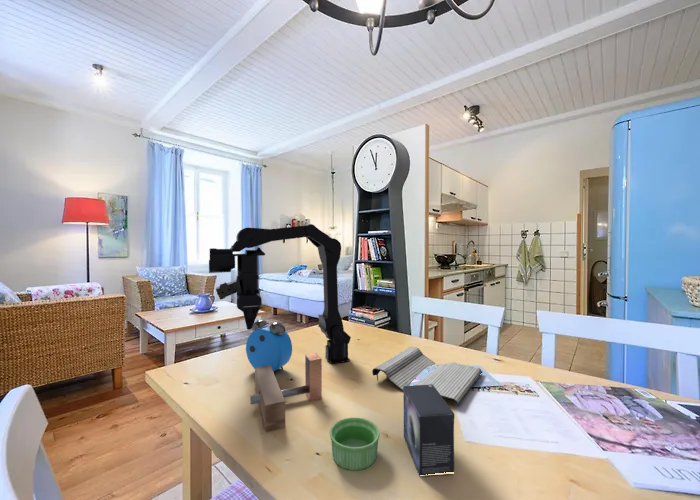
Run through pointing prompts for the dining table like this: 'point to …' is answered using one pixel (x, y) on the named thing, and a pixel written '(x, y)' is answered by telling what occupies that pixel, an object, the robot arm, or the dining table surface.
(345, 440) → the ramekin
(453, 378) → the mat
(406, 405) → the small box
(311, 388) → the pin
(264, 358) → the alarm clock
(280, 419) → the beam
